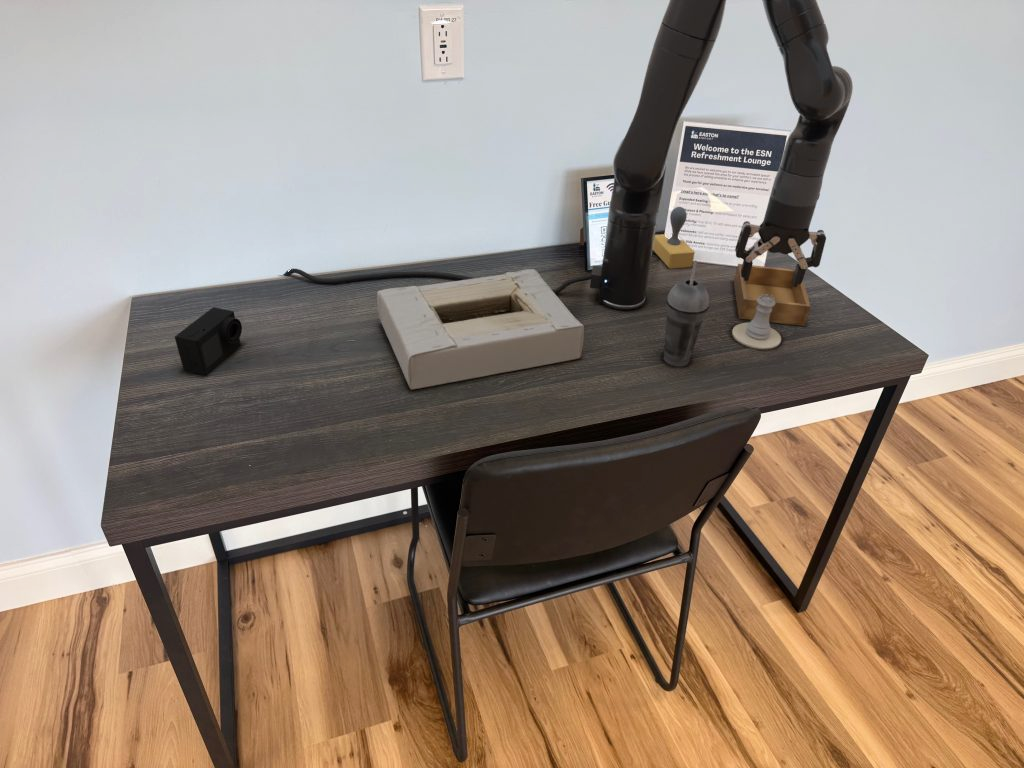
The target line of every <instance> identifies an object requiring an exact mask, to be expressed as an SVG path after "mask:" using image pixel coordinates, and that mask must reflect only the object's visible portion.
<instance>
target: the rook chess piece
mask: <svg viewBox="0 0 1024 768" xmlns="http://www.w3.org/2000/svg"><path fill="white" fill-rule="evenodd" d="M757 302H758V304H759V305H758V306H757V307H756V308H757V312H756V314H755V317H754V319H753V320H750V321H749V322H748V323H749V324H748V325H747V327H748V328H747V329H746V332H747V334H748V336H750V337H751V338H753V339H757V340H764V339H766V338H768V337H769V336H770V332H771V328H772V327H771V324H770V322H769V316H770V312H772V309H771V308H772V307H773V306H774V305H775V301H774V298H773V296H772V295H771V296H770V297H768V294H766V295H765V296H764V294H762V295H761V296H760V298H759V299H757Z"/></svg>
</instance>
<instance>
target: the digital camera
mask: <svg viewBox="0 0 1024 768" xmlns="http://www.w3.org/2000/svg"><path fill="white" fill-rule="evenodd" d="M242 332H243V325H242V322H241V320H240V319H239V318H236V316H235V312H234V310H229V309H225V308H220V307H215V306H214V307H212V308H210V309H209V310H207V311H206V312H205V313H203V314H202V315H201V316H200V317H198V318H197V319H196V320H194V321H193V322H191V323H190V324H189V325H188V326H187V327H185V328H184V329H183V330H181V331H180V332H179V333H177V334H176V335H175V336H174V340H175V343H176V347H177V350H178V355H179V358H180V362H181V365H182V368H183V371H184V372H187V373H193V374H198V375H202V376H206V375H208V374H210V372H211V371H212V370H214V369H215V368H216V367H217V366H218V365H219V364H221V363H222V362H223V361H224V360H225V359H226V358H227V357H229V356H230V355H231V354H232V353H234V351H235V350H237V349H238V348H239V347H240V346H241V345H242V343H241V339H240V338H241V336H242Z"/></svg>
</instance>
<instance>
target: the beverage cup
mask: <svg viewBox="0 0 1024 768" xmlns="http://www.w3.org/2000/svg"><path fill="white" fill-rule="evenodd" d="M697 266H698V260H696V259H694V260H693V264H692V270H691V275H690V279H683V280H681V281H679V282H676V284H675V285H674V286H673V287H671V289H670V291H669V292H668V295H667V297H666V299H665V303H666V324H665V334H664V347H663V360H664V362H665V363H667V364H668V365H670V366H674V367H684V366H687V365H688V364H689V363H690V359H691V357H692V356H693V351H694V349H695V347H696V343H697V339H698V336H699V333H700V331H701V327H702V324H703V321H704V319H705V317H706V315H707V313H708V310H709V309H710V296H709V292H708V290H707V289H706V287H705V286H704V284H702V283H701V282H699V281H697V280H695V276H696V275H695V274H696V270H697Z"/></svg>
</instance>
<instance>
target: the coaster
mask: <svg viewBox="0 0 1024 768" xmlns="http://www.w3.org/2000/svg"><path fill="white" fill-rule="evenodd" d="M749 323H750V322H742V323H738V324H736V325H735V326H734V327H733V329H732V330H731V335H732V337H733V339H734V340H735V341H736V342H738V343H739V344H741V345H743V346H745V347H748V348H752V349H754V350H755V349H756V350H772V349H774V348H775V349H776V348H777V347H778V346H780V344H781V342H782V336H781V335H780V333H779V332H778V331H777V330H776V329H774V328H772V327H771V332H770V336H769V337H768V338H766V339H764V340H757V339H753V338H751V337H750V336H748V334H747V332H746V329H747V328H748V327H747V325H748V324H749Z"/></svg>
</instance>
